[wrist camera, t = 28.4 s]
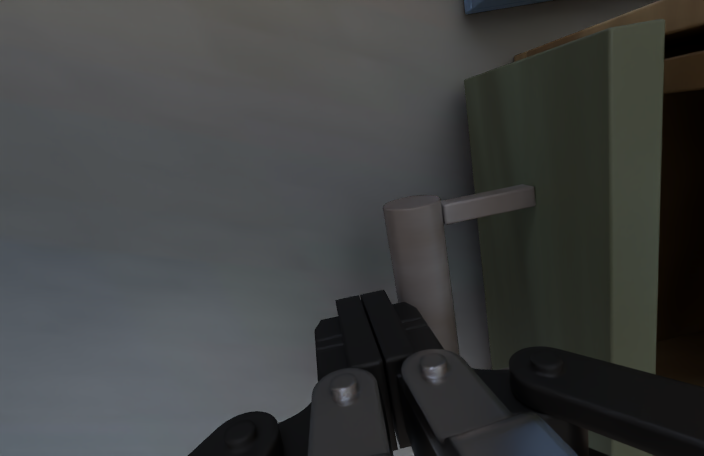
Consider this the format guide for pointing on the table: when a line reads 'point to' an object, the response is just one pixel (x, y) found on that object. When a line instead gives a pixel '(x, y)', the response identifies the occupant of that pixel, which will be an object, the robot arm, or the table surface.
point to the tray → (494, 4)
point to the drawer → (577, 209)
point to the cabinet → (673, 6)
